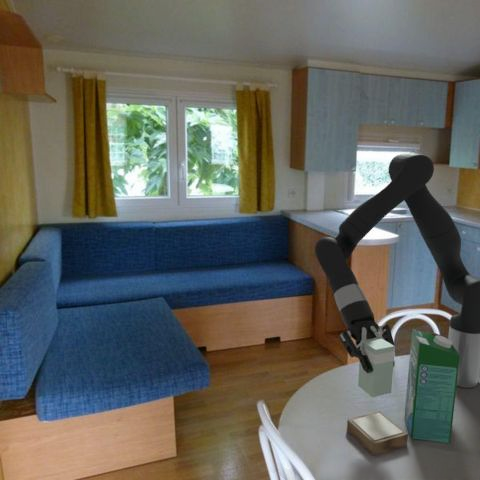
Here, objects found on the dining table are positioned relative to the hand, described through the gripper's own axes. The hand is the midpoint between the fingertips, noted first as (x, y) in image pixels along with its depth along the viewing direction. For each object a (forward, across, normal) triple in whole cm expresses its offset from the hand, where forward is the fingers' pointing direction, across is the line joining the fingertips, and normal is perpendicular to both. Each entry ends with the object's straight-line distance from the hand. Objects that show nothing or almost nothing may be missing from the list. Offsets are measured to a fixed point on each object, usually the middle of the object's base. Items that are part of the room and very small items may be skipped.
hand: (380, 369), depth 101 cm
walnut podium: (+13, 0, +13) cm, 18 cm away
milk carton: (+14, +14, +12) cm, 23 cm away
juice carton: (+3, 0, +6) cm, 6 cm away
